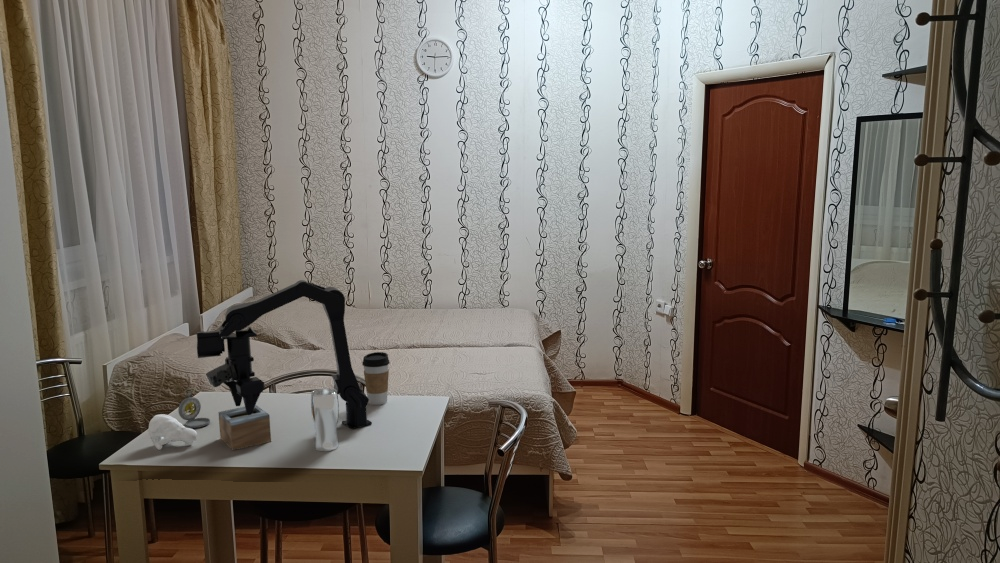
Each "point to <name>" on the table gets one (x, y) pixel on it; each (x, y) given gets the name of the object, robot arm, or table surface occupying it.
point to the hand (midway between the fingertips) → (243, 410)
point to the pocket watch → (192, 412)
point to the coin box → (244, 427)
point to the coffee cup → (376, 377)
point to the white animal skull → (169, 431)
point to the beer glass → (325, 418)
